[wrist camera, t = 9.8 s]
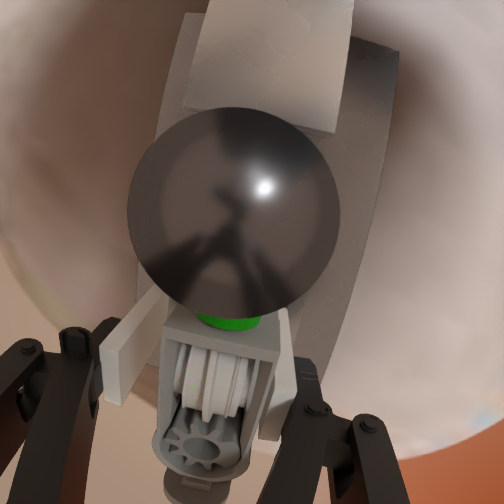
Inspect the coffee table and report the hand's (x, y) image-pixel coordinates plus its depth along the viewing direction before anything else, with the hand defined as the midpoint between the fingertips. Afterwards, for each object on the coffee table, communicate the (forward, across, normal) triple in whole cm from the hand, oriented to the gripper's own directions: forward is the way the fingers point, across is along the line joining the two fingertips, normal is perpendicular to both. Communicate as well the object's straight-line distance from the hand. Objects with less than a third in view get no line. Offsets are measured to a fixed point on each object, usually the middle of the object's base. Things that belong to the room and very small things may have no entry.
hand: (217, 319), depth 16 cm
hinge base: (+3, +1, +6) cm, 6 cm away
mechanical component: (+2, +1, 0) cm, 2 cm away
